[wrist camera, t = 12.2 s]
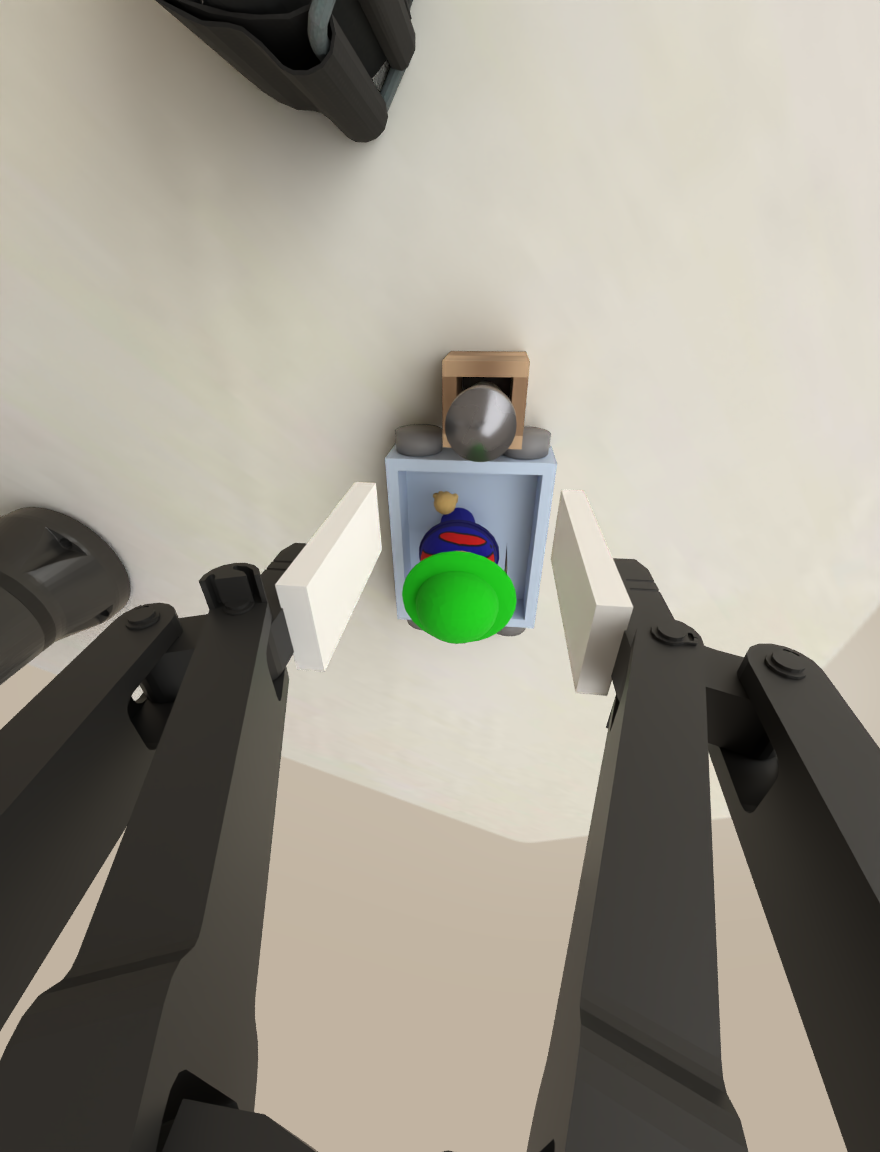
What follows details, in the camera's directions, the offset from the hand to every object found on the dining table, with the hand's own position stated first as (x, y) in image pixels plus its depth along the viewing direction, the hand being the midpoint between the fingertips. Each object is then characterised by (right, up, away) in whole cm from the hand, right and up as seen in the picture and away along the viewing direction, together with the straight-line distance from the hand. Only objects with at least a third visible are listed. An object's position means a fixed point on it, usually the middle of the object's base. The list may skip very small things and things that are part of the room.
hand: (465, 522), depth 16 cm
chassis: (+2, +3, +28) cm, 28 cm away
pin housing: (+3, +14, +21) cm, 25 cm away
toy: (+2, +2, +27) cm, 27 cm away
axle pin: (+2, +11, +17) cm, 20 cm away
